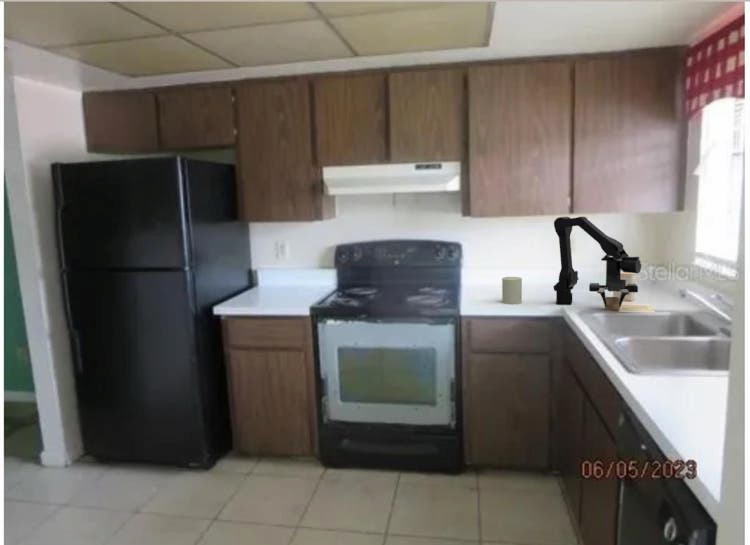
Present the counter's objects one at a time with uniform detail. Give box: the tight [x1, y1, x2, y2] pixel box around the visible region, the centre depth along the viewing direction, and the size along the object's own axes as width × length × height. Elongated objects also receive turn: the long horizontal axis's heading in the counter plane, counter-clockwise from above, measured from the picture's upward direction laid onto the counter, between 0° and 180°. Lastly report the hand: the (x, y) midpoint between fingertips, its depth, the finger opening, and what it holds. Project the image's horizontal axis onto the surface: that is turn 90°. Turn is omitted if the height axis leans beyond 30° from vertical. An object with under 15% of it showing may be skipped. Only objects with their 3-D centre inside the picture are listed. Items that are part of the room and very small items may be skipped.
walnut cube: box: [605, 296, 619, 312], centre depth 227 cm, size 5×5×5 cm
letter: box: [617, 303, 656, 314], centre depth 228 cm, size 14×16×1 cm
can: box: [501, 276, 523, 305], centre depth 250 cm, size 9×9×12 cm
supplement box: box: [612, 271, 636, 302], centre depth 244 cm, size 8×5×13 cm, turn 48°
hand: (612, 307), depth 227 cm, fingers closed on walnut cube, 5 cm apart
